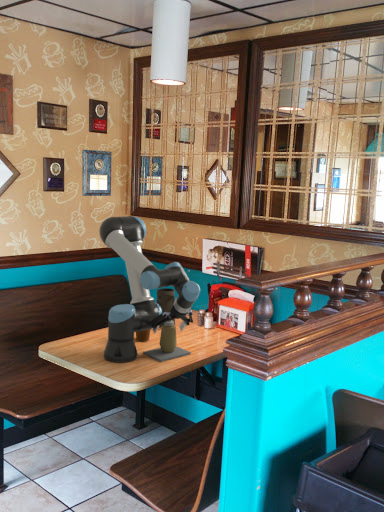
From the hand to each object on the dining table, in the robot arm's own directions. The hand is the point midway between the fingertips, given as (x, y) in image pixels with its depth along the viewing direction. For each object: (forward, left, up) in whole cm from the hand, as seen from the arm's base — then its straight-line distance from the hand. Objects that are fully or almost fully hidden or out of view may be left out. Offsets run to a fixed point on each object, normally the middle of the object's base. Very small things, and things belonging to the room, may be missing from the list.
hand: (167, 329), depth 249 cm
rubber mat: (-2, -2, -11) cm, 11 cm away
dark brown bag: (+27, +33, -11) cm, 44 cm away
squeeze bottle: (0, -1, -10) cm, 10 cm away
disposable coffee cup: (+1, +21, -11) cm, 24 cm away
